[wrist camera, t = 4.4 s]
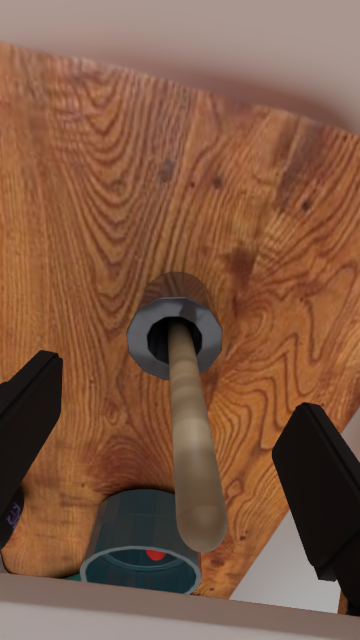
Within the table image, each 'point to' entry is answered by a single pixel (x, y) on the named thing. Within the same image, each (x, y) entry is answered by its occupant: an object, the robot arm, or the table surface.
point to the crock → (173, 301)
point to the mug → (11, 517)
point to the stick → (193, 447)
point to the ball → (155, 554)
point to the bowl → (140, 545)
